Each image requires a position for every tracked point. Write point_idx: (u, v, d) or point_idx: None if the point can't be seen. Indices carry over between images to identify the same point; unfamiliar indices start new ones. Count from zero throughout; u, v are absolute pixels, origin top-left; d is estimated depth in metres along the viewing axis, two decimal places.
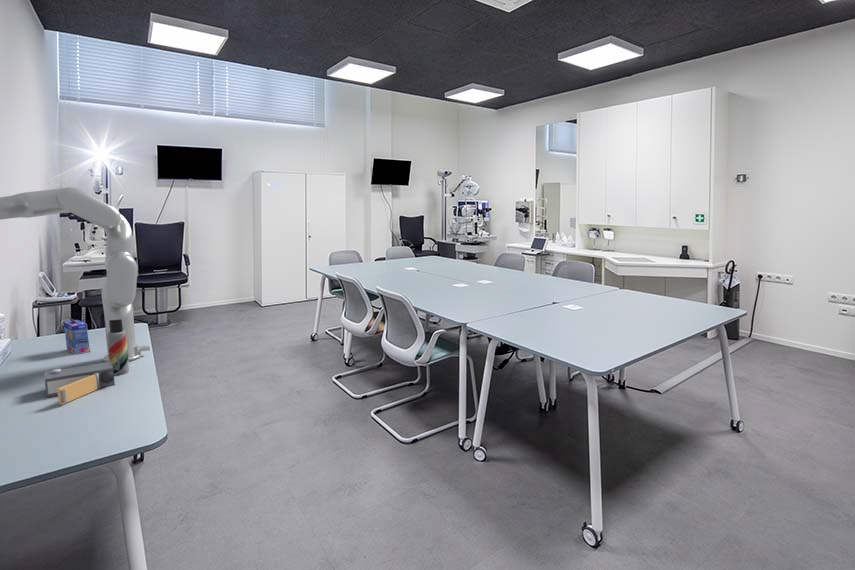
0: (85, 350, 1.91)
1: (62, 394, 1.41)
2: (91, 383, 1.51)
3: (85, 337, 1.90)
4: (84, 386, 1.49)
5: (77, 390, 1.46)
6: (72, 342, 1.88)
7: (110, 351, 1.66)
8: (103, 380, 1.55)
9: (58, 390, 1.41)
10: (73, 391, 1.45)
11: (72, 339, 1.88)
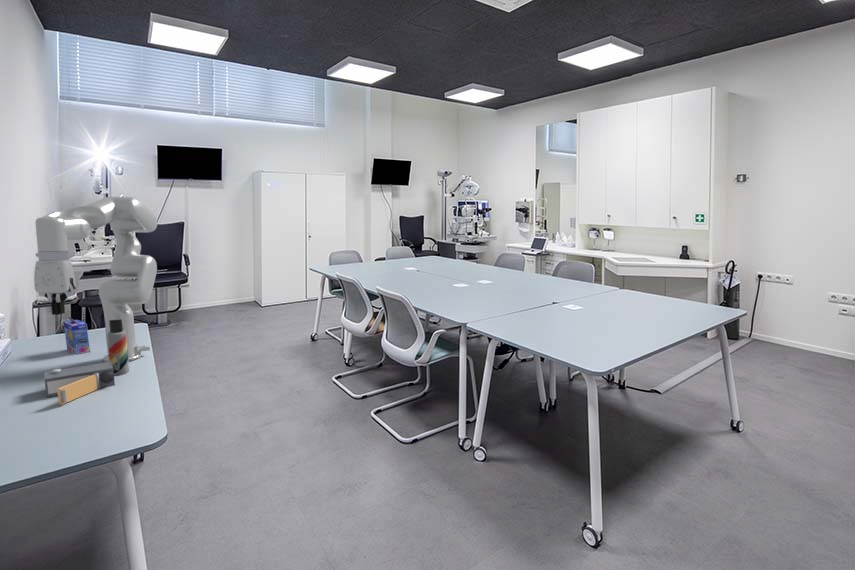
0: (85, 350, 1.91)
1: (62, 394, 1.41)
2: (91, 383, 1.51)
3: (85, 337, 1.90)
4: (84, 386, 1.49)
5: (77, 390, 1.46)
6: (72, 342, 1.88)
7: (110, 351, 1.66)
8: (103, 380, 1.55)
9: (58, 390, 1.41)
10: (73, 391, 1.45)
11: (72, 339, 1.88)
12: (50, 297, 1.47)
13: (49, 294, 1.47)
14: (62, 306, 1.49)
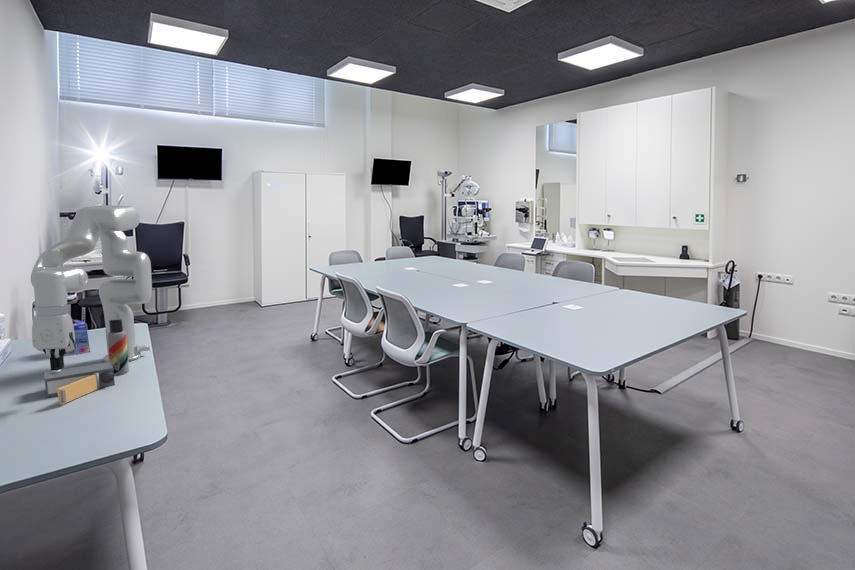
0: (85, 350, 1.91)
1: (62, 394, 1.41)
2: (91, 383, 1.51)
3: (85, 337, 1.90)
4: (84, 386, 1.49)
5: (77, 390, 1.46)
6: None
7: (110, 351, 1.66)
8: (103, 380, 1.55)
9: (58, 390, 1.41)
10: (73, 391, 1.45)
11: None
12: (49, 353, 1.42)
13: (48, 349, 1.42)
14: (61, 361, 1.44)
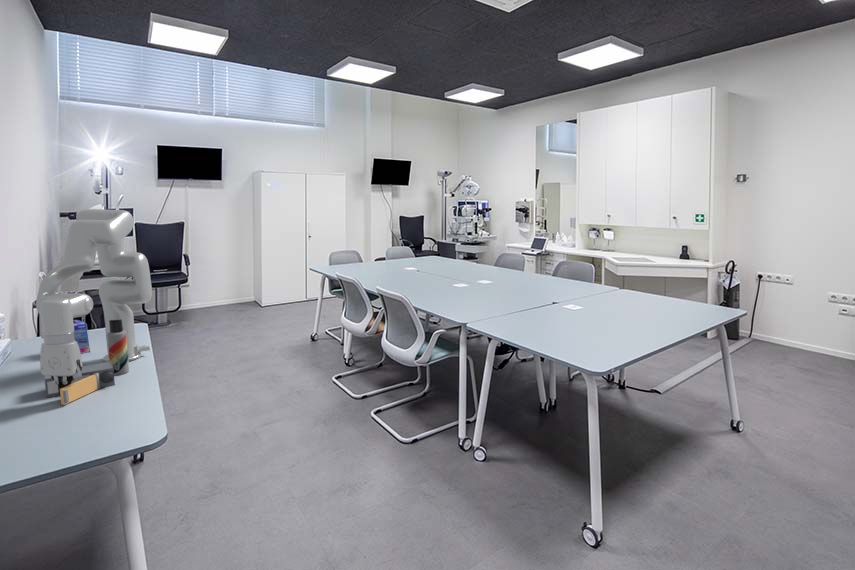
0: (85, 350, 1.91)
1: (65, 394, 1.41)
2: (92, 383, 1.51)
3: (85, 337, 1.90)
4: (85, 386, 1.49)
5: (79, 390, 1.46)
6: None
7: (110, 351, 1.66)
8: (103, 380, 1.55)
9: (61, 390, 1.41)
10: (75, 391, 1.45)
11: None
12: (57, 379, 1.44)
13: (56, 376, 1.43)
14: None
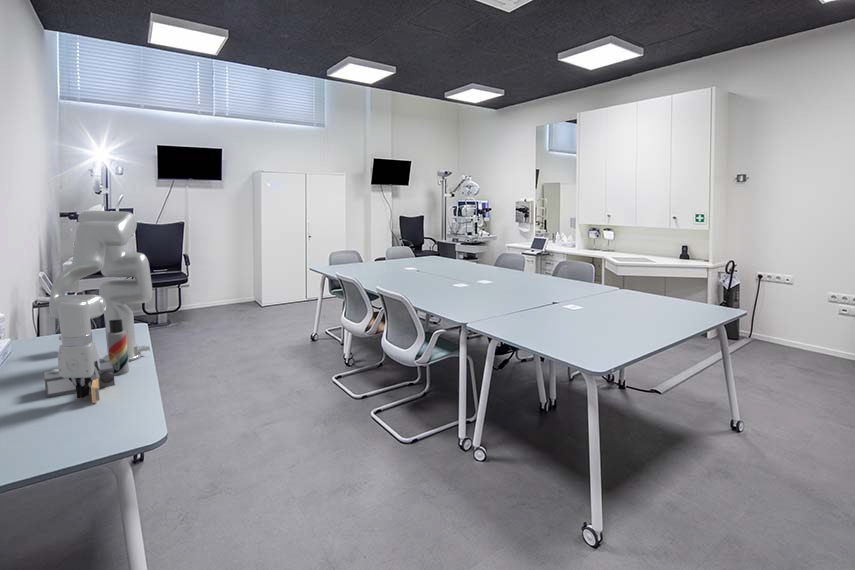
0: None
1: (97, 392, 1.43)
2: (97, 382, 1.52)
3: None
4: (97, 385, 1.50)
5: None
6: None
7: (110, 351, 1.66)
8: (103, 380, 1.55)
9: (92, 389, 1.43)
10: None
11: None
12: (74, 381, 1.44)
13: (73, 378, 1.43)
14: (87, 389, 1.45)
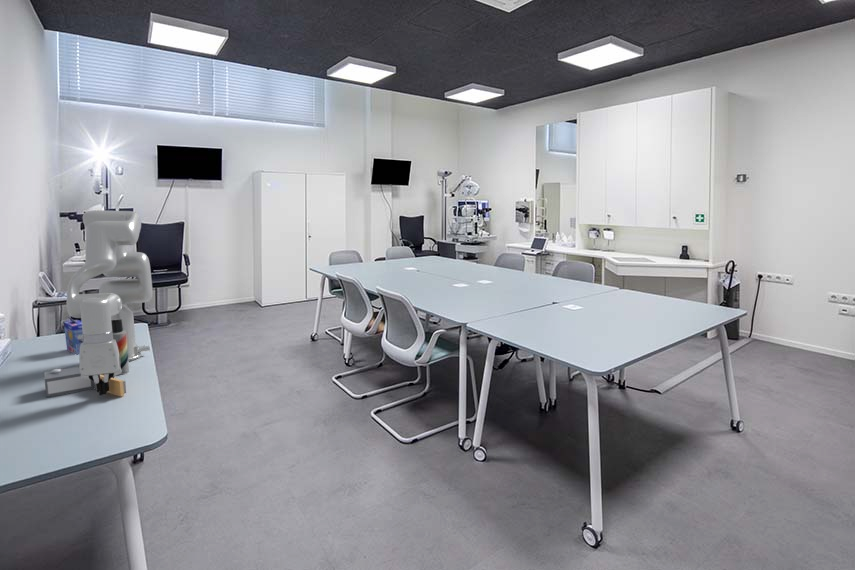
0: None
1: (124, 385, 1.49)
2: None
3: None
4: None
5: None
6: (72, 342, 1.88)
7: None
8: None
9: (121, 382, 1.48)
10: None
11: (72, 339, 1.88)
12: (97, 378, 1.45)
13: (95, 375, 1.45)
14: (108, 385, 1.48)
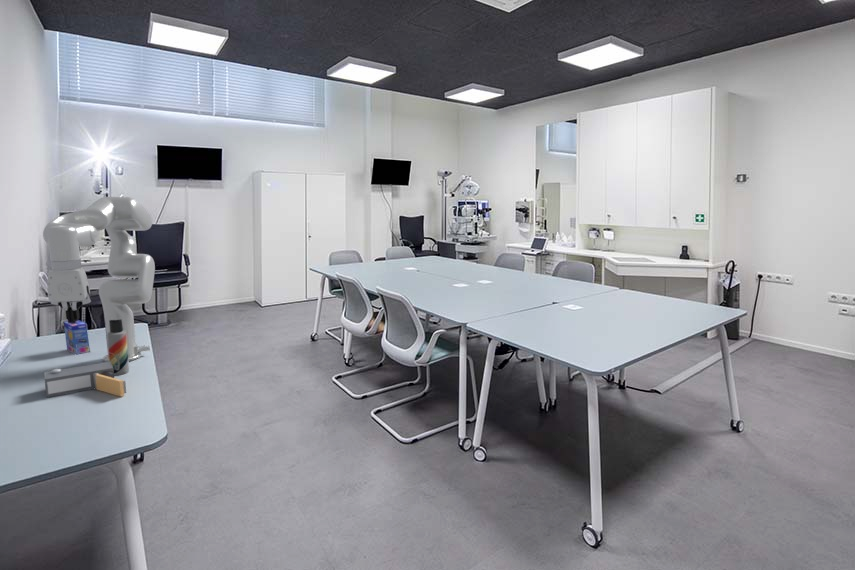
0: (85, 350, 1.91)
1: (124, 385, 1.49)
2: None
3: (85, 337, 1.90)
4: None
5: None
6: (72, 342, 1.88)
7: (110, 351, 1.66)
8: None
9: (121, 382, 1.48)
10: None
11: (72, 339, 1.88)
12: (65, 305, 1.48)
13: (64, 303, 1.48)
14: (77, 313, 1.50)
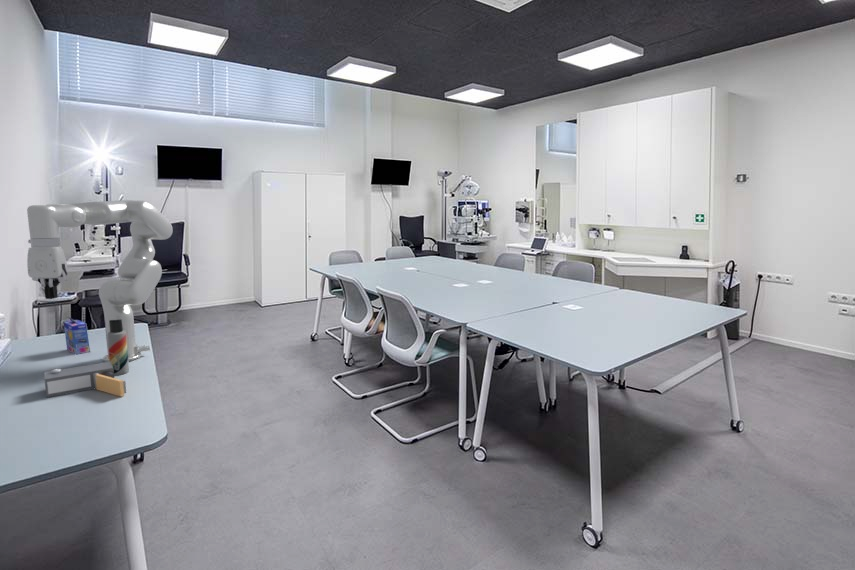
0: (85, 350, 1.91)
1: (124, 385, 1.49)
2: None
3: (85, 337, 1.90)
4: None
5: None
6: (72, 342, 1.88)
7: (110, 351, 1.66)
8: None
9: (121, 382, 1.48)
10: None
11: (72, 339, 1.88)
12: (43, 282, 1.54)
13: (42, 279, 1.53)
14: (55, 291, 1.55)
